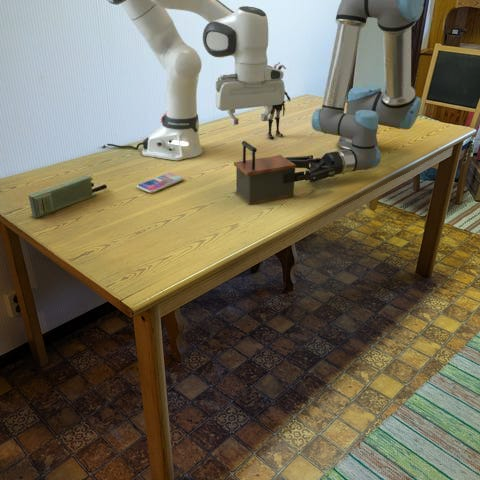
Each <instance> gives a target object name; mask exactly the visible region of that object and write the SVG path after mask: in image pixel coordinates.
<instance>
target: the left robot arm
mask: <svg viewBox="0 0 480 480" xmlns="http://www.w3.org/2000/svg"><path fill="white" fill-rule="evenodd" d="M106 1H107V2H108V3H110V4H112V5H116V6H118V5H121V6H122V7H123V9H124V11H125V13H126V14H127V15H128V17H129V19H130V20H131V22H132V23H133V25H134V26H135V27H136V29H137V30H138V32H139V33H140V34H141V36H142V37H143V38H144V40H145V41H146V43H147V45H148V46H149V48H150V50H151V51H152V53H153V54H154V56H155V57H156V59H157V60H158V62H159V63H160V65H161V66H162V68H163V69H164V70H166V72H167V82H166V90H165V92H164V93H165V95H164V97H165V113H163V114H162V116H161V118H160V123H161V125H159V127H157V128H156V129H155V130H154V131H152V132H151V133H150V135H149V136H148V137H146V138H145V139H144V140H143V141H142V142H139V143H138V144H137V145H136V147H135V146H133V145H118V144H114V143H106V144H107V145H108V146H105V145H106V144H104V145H103V146H102V147H101V149H105V148H106V147H114V148H119V149H128V148H131V149H133V150H138V149H139V147H140V146H142V145H143V148H142V150H141V155H142V156H145V157H152V158H157V159H164V160H170V161H176V162H178V161H182V160H185V159H190V158H191V159H192V158H196V157H198V156H200V155H202V153H203V149H202V148H203V147H202V145H201V142H200V134H199V128H200V121H199V114H198V103H197V102H198V101H197V100H198V99H197V94H198V93H197V91H198V83H199V78H200V77H199V76H200V73H201V70H202V66H203V65H202V59H201V56H200V55H199V54H198V52H197V50H196V49H195V48H193V47H192V46H189V45H188V44H187V43H186V42H185V40H183V38H182V36H181V34H180V32H179V31H178V29H177V27H176V25H175V23H174V20H173V19H172V17H171V15H170V14H169V12H168V11H167V10H176V11H177V10H179V11H186V12H190V13H193V14H196V15H198V16H200V17H201V18H202V19H204V20H205V21H206V22H208V23H207V24H206V26H205V27H204V29H203V33H202V43H203V47H204V49H205V51H206V52H207V53H208V54H209V55H210V56H212V57H213V58H221V59H222V58H227V57H233V58H234V73H231V74H221V75H220V76H219V77H218V78H217V79H216V80H215V90H216V91H215V102H214V105H215V107H216V109H218V110H220V111H221V112H224V111H227V114H228V115H229V116H230V119H231V120H230V123H231V125H232V126H239V124H240V123H239V121H240V120H239V118H238V117H236V116H235V114H236V110H242V109H251V108H252V109H253V108H259V107H260V108H261V107H264V106H265V108H264V109H265V110H264V111H263V113H261V114H260V120H261V121H262V122H269V121H268V118H269V116H270V112H271V110H272V105H279V104H282V103H283V101H285V96H286V95H285V92H286V89H285V82H284V80H283V78H284V75H285V73H284V71H283V70H282V69H281V70H279V69H278V68H277V67H276V68H274V66H272V65H268V64H269V63H268V54H267V51H268V47H269V21H268V16H267V14H266V12H265V11H264V10H262V8H258V7H254V6H247V5H246V6H245V5H244V6H243V5H242V6H239V7H238V8H237V9H236V10H235V11H233V10H232V9H230V8H229V7H228V6H227V5H225V4H224V3H222V2H221V1H220V0H106Z"/></svg>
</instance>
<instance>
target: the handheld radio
mask: <svg viewBox="0 0 480 480" xmlns="http://www.w3.org/2000/svg"><path fill="white" fill-rule="evenodd" d="M92 176H93V174H91V173H88V174H85V175H83V176H79V177H76V178H74V179H71V180H68V181H65V182H62V183H59V184H57V185H54V186H50V187H47V188H44V189H42V190H39V191H37V192H33V193H30V194H28V200H29V206H30V210H31V216H32V217H34V218H35V219H36V218H39V217H42V216H45V215H47V214H50V213H53V212H56V211H58V210H60V209H63V208H66V207H68V206H72V205H73V204H76V203H80V202H82V201H84V200H87V199H90V198H93V196H95V195H96V194H95V193H97V192H100V191H102V190H106V189H107V188H108V186H107V184H102V185H99V186H96V187H94V186H95V183H94V182H92V181H93V180H94V178H93V177H92ZM93 187H94V188H93Z"/></svg>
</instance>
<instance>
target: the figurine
mask: <svg viewBox="0 0 480 480" xmlns="http://www.w3.org/2000/svg"><path fill="white" fill-rule="evenodd" d="M277 66H278V67H277ZM273 68H276V69H279V70H281V71H282V68H283V70H286V69H287V67H286V66H285V65H284V64H281V61H279V62H278V63H276V64H274V65H273ZM285 96H286V98H287V100H284V101H283V103H282V104H279V105H272V110H271V112H270V114H269V116H268V121H267V122H268V134H267V137H268V139H270V140H274V139H275V136H278V137H280V138H282V137H283V136H284V134H283V133H281V132H280V120H281V117H280V116H281V112H282V117H284V116H285V112H286V106H285V105H286V104H285V103H286V101H287V102H288V103H291V98H290V96H289V95H288V92H287V91H285ZM263 108H264V109H266V108H265V106H263ZM274 121H275V124H276V130H275V136H274V135H273V134H272V128H273V127H272V126H273V123H274Z"/></svg>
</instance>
